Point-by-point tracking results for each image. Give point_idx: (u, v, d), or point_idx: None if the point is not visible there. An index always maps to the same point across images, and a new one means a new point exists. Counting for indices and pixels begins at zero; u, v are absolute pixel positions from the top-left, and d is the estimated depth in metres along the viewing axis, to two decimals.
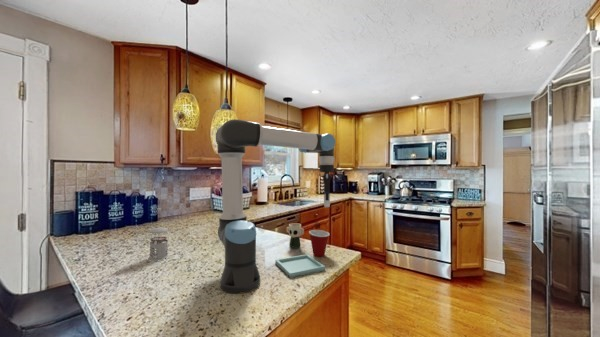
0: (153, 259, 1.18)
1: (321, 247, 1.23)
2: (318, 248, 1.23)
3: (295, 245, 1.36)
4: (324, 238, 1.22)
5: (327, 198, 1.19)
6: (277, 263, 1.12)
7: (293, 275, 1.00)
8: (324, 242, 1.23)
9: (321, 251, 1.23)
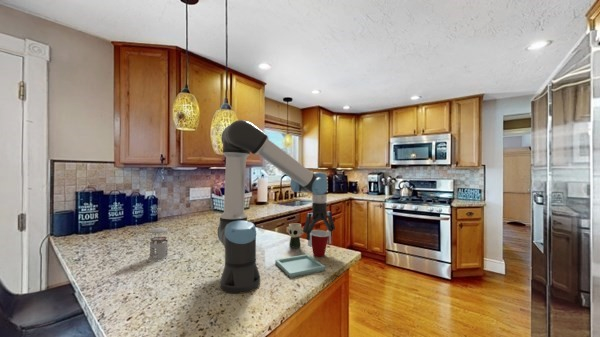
0: (153, 259, 1.18)
1: (321, 247, 1.23)
2: (318, 248, 1.23)
3: (295, 245, 1.36)
4: (324, 238, 1.22)
5: (307, 238, 1.23)
6: (277, 263, 1.12)
7: (293, 275, 1.00)
8: (324, 242, 1.23)
9: (321, 251, 1.23)
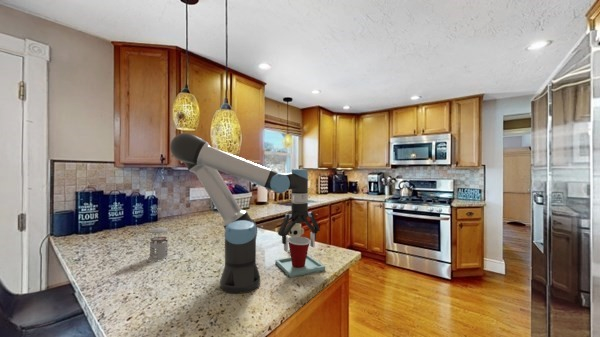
0: (153, 259, 1.18)
1: (300, 257, 1.07)
2: (296, 258, 1.07)
3: None
4: (304, 246, 1.07)
5: (282, 241, 1.07)
6: (277, 263, 1.12)
7: (293, 275, 1.00)
8: (304, 251, 1.08)
9: (300, 261, 1.08)
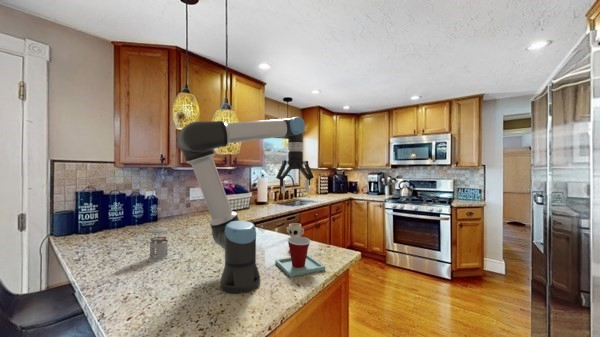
0: (153, 259, 1.18)
1: (300, 257, 1.07)
2: (296, 258, 1.07)
3: None
4: (304, 246, 1.07)
5: (280, 184, 1.21)
6: (277, 263, 1.12)
7: (293, 275, 1.00)
8: (304, 251, 1.08)
9: (300, 261, 1.08)
